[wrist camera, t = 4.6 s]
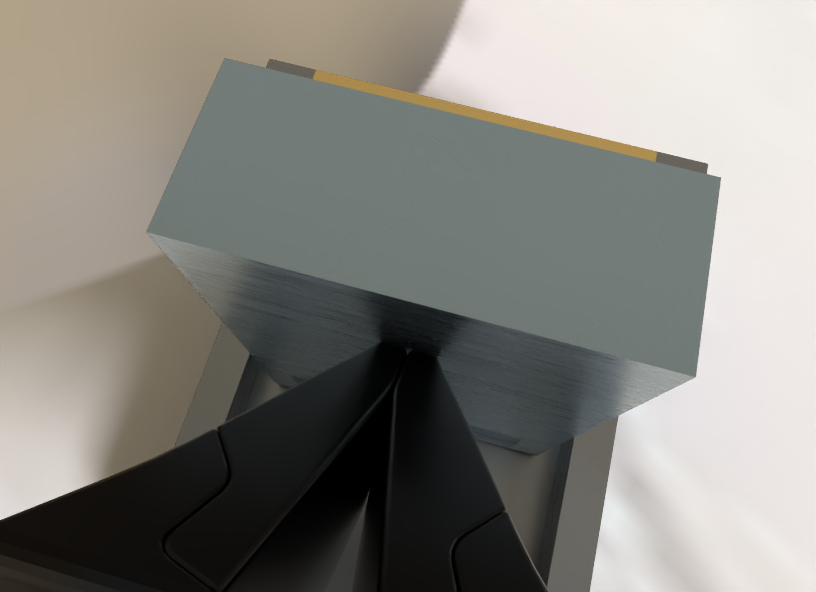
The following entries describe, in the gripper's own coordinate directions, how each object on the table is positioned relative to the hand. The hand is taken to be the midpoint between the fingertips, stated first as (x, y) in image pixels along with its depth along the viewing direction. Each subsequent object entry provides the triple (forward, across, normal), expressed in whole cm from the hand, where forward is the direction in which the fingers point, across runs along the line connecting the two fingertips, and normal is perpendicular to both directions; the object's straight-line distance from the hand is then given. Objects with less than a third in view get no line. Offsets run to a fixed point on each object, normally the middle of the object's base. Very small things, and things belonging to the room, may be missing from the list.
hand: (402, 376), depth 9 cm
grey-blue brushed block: (+6, 0, +2) cm, 6 cm away
